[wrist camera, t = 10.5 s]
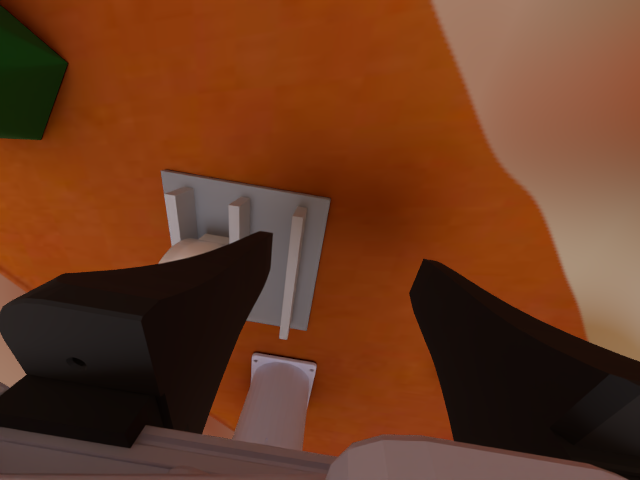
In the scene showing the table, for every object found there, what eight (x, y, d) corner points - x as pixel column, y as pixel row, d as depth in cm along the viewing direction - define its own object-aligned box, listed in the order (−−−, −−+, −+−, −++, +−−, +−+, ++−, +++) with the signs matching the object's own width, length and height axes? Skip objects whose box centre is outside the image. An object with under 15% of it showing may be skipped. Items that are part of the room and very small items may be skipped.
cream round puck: (233, 297, 24) (188, 370, 17) (209, 293, 24) (154, 364, 17) (232, 228, 20) (174, 281, 13) (204, 223, 20) (131, 274, 13)
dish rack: (307, 326, 26) (303, 349, 23) (184, 305, 26) (166, 326, 23) (330, 198, 19) (329, 209, 16) (165, 169, 19) (137, 175, 16)
